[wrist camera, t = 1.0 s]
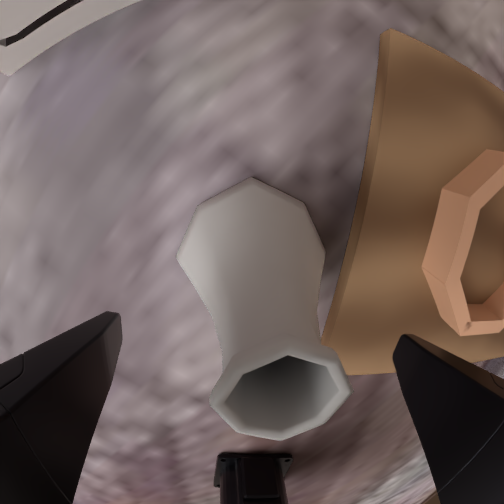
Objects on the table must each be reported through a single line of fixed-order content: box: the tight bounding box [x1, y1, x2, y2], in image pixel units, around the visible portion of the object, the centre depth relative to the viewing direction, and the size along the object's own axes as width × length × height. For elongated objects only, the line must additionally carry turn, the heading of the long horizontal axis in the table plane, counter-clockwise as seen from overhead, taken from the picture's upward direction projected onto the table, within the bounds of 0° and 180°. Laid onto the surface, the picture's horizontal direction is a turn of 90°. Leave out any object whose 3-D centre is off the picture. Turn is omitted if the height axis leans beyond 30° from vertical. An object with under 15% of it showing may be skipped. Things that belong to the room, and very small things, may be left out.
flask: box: [176, 177, 354, 441], centre depth 11 cm, size 7×7×10 cm
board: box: [321, 28, 504, 375], centre depth 16 cm, size 20×20×1 cm
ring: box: [421, 149, 504, 336], centre depth 14 cm, size 11×11×2 cm
